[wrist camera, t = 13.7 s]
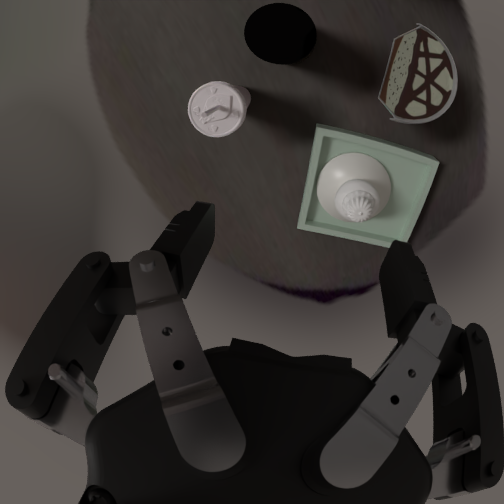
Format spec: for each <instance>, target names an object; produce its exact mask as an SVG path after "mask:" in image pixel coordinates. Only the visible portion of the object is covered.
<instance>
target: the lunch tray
mask: <svg viewBox="0 0 504 504" xmlns="http://www.w3.org/2000/svg"><path fill="white" fill-rule="evenodd" d="M438 165H439V161H438V160H437V159H436V158H435V157H434V156H432V155H429V154H426V153H424V152H421V151H418V150H415V149H412V148H409V147H406V146H403V145H400V144H397V143H394V142H390V141H387V140H384V139H380V138H377V137H373V136H370V135H366V134H362V133H358V132H354V131H350V130H346V129H342V128H337V127H333V126H328V125H324V124H319V123H316V129H315V135H314V140H313V146H312V152H311V157H310V162H309V168H308V173H307V178H306V184H305V189H304V194H303V199H302V204H301V209H300V213H299V218H298V226H297V229H302V230H307V231H312V232H317V233H322V234H327V235H332V236H337V237H342V238H347V239H352V240H356V241H361V242H366V243H370V244H375V245H379V246H384V247H388V248H390V246H391V244H392V242H393V241H394V240H399V241H403V242H407V241H408V239H409V237H410V235H411V232H412V230H413V228H414V226H415V224H416V221H417V219H418V217H419V214H420V212H421V210H422V207H423V205H424V202H425V200H426V197H427V195H428V192H429V190H430V187H431V185H432V182H433V179H434V176H435V174H436V171H437V168H438ZM355 178H356V179H363V180H366V181H368V182H369V183H371V184H372V185H373V186H374V187H375V188H376V190H377V192H378V194H379V197H380V204H379V208H378V210H377V212H376V213H375V214H374V215H373V216H372V217H371V218H369V219H367V221H363V222H353V221H349V220H347V219H345V218H344V217H342V216H341V215H340V214H339V212H338V211H337V209H336V207H335V202H334V199H335V195H336V193H337V191H338V189H339V188H340V187H341V185H342V184H344V182H347V180H351V179H352V180H353V179H355Z"/></svg>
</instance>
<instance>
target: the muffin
mask: <svg viewBox="0 0 504 504" xmlns="http://www.w3.org/2000/svg"><path fill="white" fill-rule="evenodd" d="M334 202H335V207H336V209H337V211H338V212H339V214H340V215H341V216H342V217H344V218H345V219H347V220H349V221H353V222H363V221H367V219H369V218H371V217H372V216H373V215H374V214H375V213H376V212H377V210H378V208H379V204H380V197H379V194H378V192H377V190H376V188H375V187H374V186H373V185H372V184H371V183H369V182H368V181H366V180H363V179H356V178H355V179H353V180H352V179H351V180H347V182H344V184H342V185H341V187H340V188H339V189H338V191H337V193H336V195H335V199H334Z"/></svg>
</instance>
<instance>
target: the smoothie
mask: <svg viewBox="0 0 504 504" xmlns="http://www.w3.org/2000/svg"><path fill="white" fill-rule="evenodd" d="M250 102H251V95H250V93H249V91H248V90H247V89H246V88H244V87H242V86H237V85H231V84H229V83H226V82H220V81H216V82H210V83H207V84H205V85H203V86H201V87H199V88H198V89H197V90H196V91H195V92H194V93H193V94H192V96H191V98H190V100H189V104H188V114H189V118H190V120H191V122H192V124H193V125H194V127H195V128H196V129H197V130H198V131H200V132H201V133H203V134H205V135H207V136H211V137H223V136H226V135H229V134H231V133H233V132H234V131H236V130H237V129H238V128H239V127H240V126H241V125H242V123H243V121H244V119H245V116H246V112H247V108H248V106H249V104H250Z"/></svg>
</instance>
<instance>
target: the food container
mask: <svg viewBox="0 0 504 504" xmlns="http://www.w3.org/2000/svg"><path fill="white" fill-rule="evenodd" d="M416 25H418V26H419V27H417V28H415V29H412V30H410V31H408V32H406V33H404V34H402V35H400V36H398V37H396V38H394V41H393V45H392V49H391V53H390V56H389V60H388V64H387V68H386V71H385V75H384V78H383V82H382V85H381V89H380V92H379V95H378V99H379V100H380V101H381V102H382V103H383V105H384V106H385V107H386V108H387V109H388V110H389V112H390V113H391V114H392V115H393V117H394V118H390V120H393V121H396V122H400V123H406V124H422V123H426V122H430V121H432V120H434V119H436V118H438V117H439V116H441V115H442V114H443V113H445V111H446V110H447V109H448V108H449V107H450V105H451V104H452V102H453V100H454V97H455V95H456V91H457V82H458V78H457V70H456V66H455V63H454V60H453V57H452V55H451V53H450V52H449V50H448V48H447V47H446V45H445V44H444V43H443V41H442V40H441V39H440V38H439V37H438V36H437V35H436V34H435V33H433V32H432V31H431V30H429V29H428V28H427V27H425V26H423V25H422V24H418V23H417V24H416Z"/></svg>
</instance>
